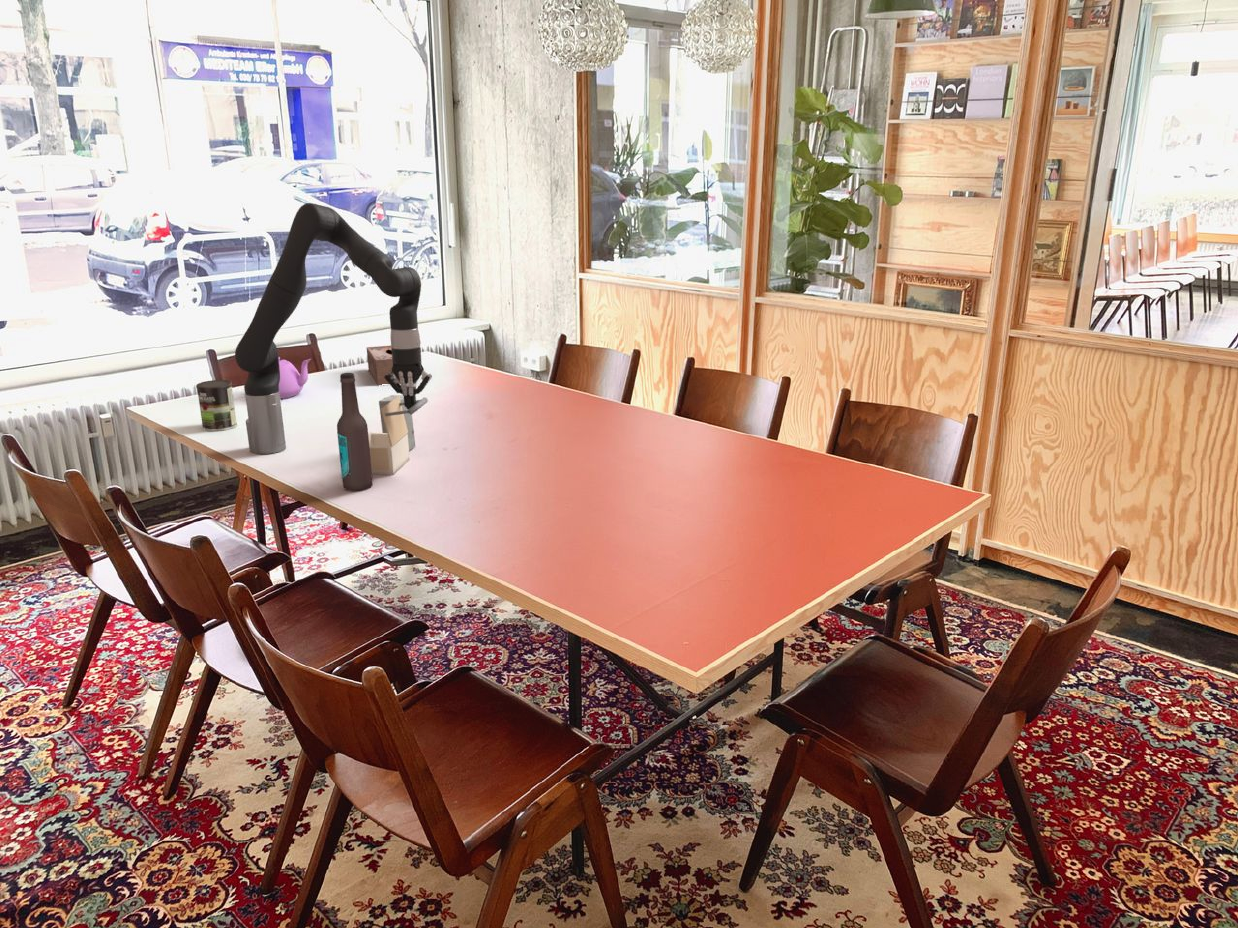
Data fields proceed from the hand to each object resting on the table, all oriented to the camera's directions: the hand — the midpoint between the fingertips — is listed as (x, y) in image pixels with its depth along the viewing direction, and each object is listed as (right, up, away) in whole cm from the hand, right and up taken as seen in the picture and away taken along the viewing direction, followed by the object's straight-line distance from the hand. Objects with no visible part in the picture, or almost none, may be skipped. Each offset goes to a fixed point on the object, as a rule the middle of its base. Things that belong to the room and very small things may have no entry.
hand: (410, 408), depth 250 cm
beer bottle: (-12, -21, -9) cm, 26 cm away
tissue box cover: (-32, +18, +110) cm, 116 cm away
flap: (-5, -3, +2) cm, 6 cm away
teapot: (-63, +9, +83) cm, 105 cm away
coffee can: (-70, -3, +44) cm, 83 cm away
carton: (-9, -16, +6) cm, 19 cm away
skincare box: (-8, -11, +21) cm, 25 cm away
